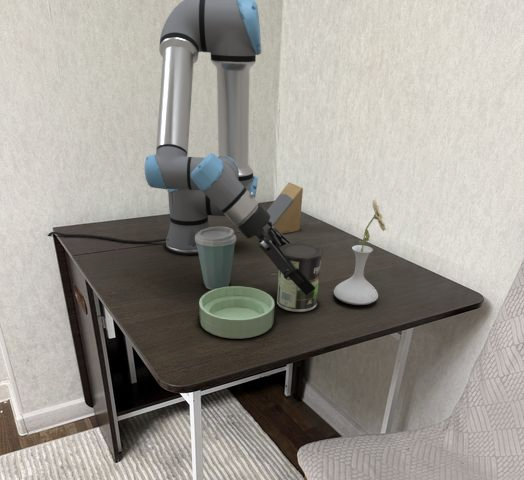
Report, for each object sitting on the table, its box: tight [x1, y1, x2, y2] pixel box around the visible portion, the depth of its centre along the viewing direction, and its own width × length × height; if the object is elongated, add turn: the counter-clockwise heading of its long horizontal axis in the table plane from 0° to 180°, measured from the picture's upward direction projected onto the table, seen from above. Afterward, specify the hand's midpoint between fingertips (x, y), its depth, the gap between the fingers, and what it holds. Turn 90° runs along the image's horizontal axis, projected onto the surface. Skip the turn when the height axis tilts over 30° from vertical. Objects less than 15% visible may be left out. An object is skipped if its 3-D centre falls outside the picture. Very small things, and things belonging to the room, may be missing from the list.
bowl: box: [198, 285, 276, 339], centre depth 111 cm, size 17×17×5 cm
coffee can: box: [276, 242, 323, 313], centre depth 118 cm, size 10×10×14 cm
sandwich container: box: [266, 181, 304, 235], centre depth 166 cm, size 9×15×15 cm, turn 122°
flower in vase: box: [333, 199, 387, 306], centre depth 118 cm, size 13×11×25 cm
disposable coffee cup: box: [195, 226, 237, 291], centre depth 125 cm, size 11×11×15 cm
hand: (310, 282), depth 118 cm, fingers closed on coffee can, 10 cm apart
